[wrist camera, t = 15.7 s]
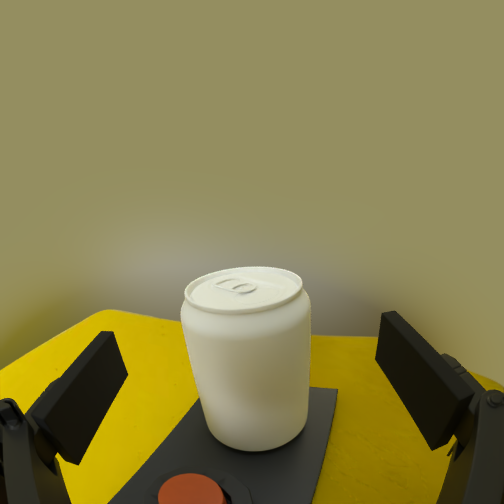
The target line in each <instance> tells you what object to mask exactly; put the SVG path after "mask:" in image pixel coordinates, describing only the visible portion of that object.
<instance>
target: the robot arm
mask: <svg viewBox="0 0 504 504" xmlns="http://www.w3.org/2000/svg"><path fill="white" fill-rule="evenodd" d="M375 360H376V361H377V363H378V364H379V366H380V368H381V369H382V371H383V372H384V374H385V375H386V377H387V378H388V380H389V381H390V383H391V385H392V386H393V388H394V389H395V391H396V392H397V394H398V396H399V397H400V399H401V400H402V402H403V404H404V405H405V407H406V409H407V410H408V412H409V413H410V415H411V417H412V418H413V420H414V422H415V423H416V425H417V427H418V428H419V430H420V432H421V433H422V435H423V437H424V438H425V440H426V442H427V444H428V445H429V447H430V449H431V450H432V451H433V450H435V449H437V448H439V447H442V446H444V445H446V444H448V442H449V440H450V439H451V437H452V435H453V434H454V435H455V437H456V438H457V440H456V442H455V443H454V445H453V446H452V448H451V449H450V451H449V452H448V454H447V456H450V454H451V453H452V456H451V459H450V463H449V467H448V470H447V474H446V477H445V480H444V483H443V486H442V489H441V492H440V495H439V498H438V500H437V503H436V504H504V393H502V392H501V391H498V390H488V391H486V390H485V389H484V388H483V387H482V386H481V385H480V384H479V383H478V382H477V380H476V379H475V378H474V377H473V376H472V375H471V374H470V373H469V372H467V370H466V369H465V368H464V367H463V366H461V364H460V363H459V362H458V361H457V360H456V359H455V358H453V357H451V356H449V355H447V354H442V355H440V354H439V353H438V352H436V350H434V348H433V347H432V346H431V345H430V344H429V343H428V342H427V341H426V340H425V339H424V338H423V337H422V336H421V335H420V334H419V333H418V332H416V330H415V329H414V328H413V327H412V326H411V325H410V324H408V323H407V322H406V321H405V320H404V319H403V318H402V317H401V316H400V315H399V314H398V313H397V312H396V311H390V312H384V313H382V315H381V323H380V330H379V338H378V344H377V350H376V356H375ZM127 376H128V373H127V370H126V367H125V365H124V362H123V359H122V356H121V353H120V350H119V347H118V344H117V341H116V338H115V335H114V332H113V331H101V332H100V333H99V334H98V335H97V336H96V337H95V338H94V340H93V341H92V342H91V343H90V344H89V345H88V346H87V347H86V348H85V350H84V351H83V352H82V353H81V354H80V355H79V356H78V357H77V359H76V360H75V361H74V362H73V363H72V364H71V365H70V367H69V368H68V369H67V370H66V371H65V372H64V373H63V375H62V376H61V377H60V378H57V379H56V380H54V381H53V382H51V383H50V384H49V385H48V387H47V388H46V389H45V392H44V391H43V393H42V394H41V395H40V397H38V399H37V400H36V401H35V402H34V403H33V405H32V406H31V407H30V408H29V410H28V411H27V412H26V413H25V415H24V414H23V413H22V411H21V410H20V408H19V407H18V405H17V403H16V402H15V401H14V400H13V399H11V398H4V399H2V400H0V504H71V501H70V498H69V495H68V492H67V489H66V486H65V483H64V480H63V476H62V473H61V469H60V466H59V462H58V460H57V458H56V457H55V455H56V454H57V452H58V453H59V454H60V455H61V457H62V458H63V459H64V460H65V461H67V462H70V463H73V464H75V465H78V466H79V464H80V462H81V460H82V458H83V456H84V454H85V452H86V450H87V448H88V446H89V445H90V443H91V441H92V439H93V437H94V435H95V433H96V431H97V430H98V428H99V426H100V424H101V422H102V420H103V419H104V417H105V415H106V413H107V411H108V410H109V408H110V406H111V404H112V402H113V401H114V399H115V397H116V395H117V394H118V392H119V390H120V388H121V387H122V385H123V383H124V381H125V380H126V378H127ZM452 451H453V452H452Z"/></svg>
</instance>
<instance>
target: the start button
mask: <svg viewBox="0 0 504 504" xmlns="http://www.w3.org/2000/svg"><path fill="white" fill-rule="evenodd" d="M158 502H159V504H227V501H226V499H225V497H224V495H223V492H222V490H221V488H220V487H219V485H218V484H217V483H216V482H215V481H213V480H212V479H210V478H209V477H206V476H204V475H200V474H194V473H187V474H181V475H177V476H174V477H172V478H170V479H169V480H167V481H166V482H165V483H164V484H163V485H162V487H161V488H160V490H159V494H158Z"/></svg>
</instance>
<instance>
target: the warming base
mask: <svg viewBox="0 0 504 504" xmlns="http://www.w3.org/2000/svg"><path fill="white" fill-rule="evenodd" d="M337 393H338V389H329V388H317V387H309V397H308V414H307V420H306V423H305V425H304V427H303V429H302V430H301V431H300V433H299V434H298V435H297V436H296V437H295V438H293V439H292V440H291V441H289V442H287V443H286V444H284V445H282V446H279V447H277V448H274V449H270V450H265V451H243V450H238V449H235V448H232V447H229V446H227V445H225V444H223V443H222V442H220V441H219V440H218V439H216V438H215V437H214V436H213V434H212V433H211V432H210V430H209V428H208V425H207V422H206V419H205V415H204V412H203V408H202V405H201V401H200V398H198V400H197V401H196V402H195V403H194V405H193V406H192V407H191V408H190V410H189V411H188V412H187V413H186V415H185V416H184V417H183V418H182V419H181V421H180V422H179V423H178V424H177V426H176V427H175V428H174V429H173V430H172V432H171V433H170V434H169V435H168V436H167V437H166V439H165V440H164V441H163V442H162V443H161V445H160V446H159V447H158V448H157V449H156V450H155V452H154V453H153V454H152V455H151V456H150V457H149V458H148V460H147V461H146V462H145V463H144V464H143V465H142V466H141V468H140V469H139V470H138V471H137V472H136V473H135V474H134V475H133V476H132V478H131V479H130V480H129V481H128V482H127V483H126V484H125V485H124V486H123V487H122V489H121V490H120V491H119V492H118V493H117V494H116V495H115V496H114V497H113V498H112V499H111V500H110V501H109V502H108V503H107V504H159V502H158V494H159V490H160V488H161V487H162V485H163V484H164V483H165V482H166V481H167V480H169V479H170V478H172V477H174V476H177V475H181V474H187V473H194V474H200V475H204V476H206V477H209V478H210V479H212V480H213V481H215V482H216V483H217V484H218V485H219V487H220V488H221V490H222V492H223V495H224V497H225V499H226V501H227V504H311V502H312V499H313V496H314V493H315V489H316V486H317V483H318V479H319V476H320V472H321V468H322V464H323V460H324V456H325V452H326V448H327V444H328V439H329V435H330V430H331V426H332V421H333V416H334V410H335V405H336V400H337Z"/></svg>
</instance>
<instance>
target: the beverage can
mask: <svg viewBox="0 0 504 504" xmlns="http://www.w3.org/2000/svg"><path fill="white" fill-rule="evenodd" d="M302 286H303V284H302V280H301V278H300V277H299V276H298V275H296V274H295V273H293V272H291V271H288V270H284V269H280V268H273V267H240V268H232V269H226V270H222V271H218V272H214V273H210V274H207V275H204V276H202V277H200V278H198V279H196V280H194V281H193V282H191V283H190V284H189V285H188V286H187V287H186V289H185V292H184V293H185V300H184V302H183V305H182V308H181V313H180V314H181V315H180V316H181V322H182V327H183V332H184V337H185V341H186V346H187V350H188V354H189V359H190V363H191V367H192V371H193V375H194V379H195V383H196V386H197V390H198V394H199V398H200V401H201V405H202V408H203V412H204V415H205V419H206V422H207V425H208V428H209V430H210V432H211V433H212V434H213V436H214V437H215V438H216V439H218V440H219V441H220V442H222V443H223V444H225V445H227V446H229V447H232V448H235V449H238V450H243V451H265V450H270V449H274V448H277V447H279V446H282V445H284V444H286V443H287V442H289V441H291V440H292V439H293V438H295V437H296V436H297V435H298V434H299V433H300V431H301V430H302V429H303V427H304V425H305V423H306V420H307V414H308V397H309V376H310V345H311V303H310V299H309V297H308V295H307V293H306V292H305V290H304V289H303V288H302Z"/></svg>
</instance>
